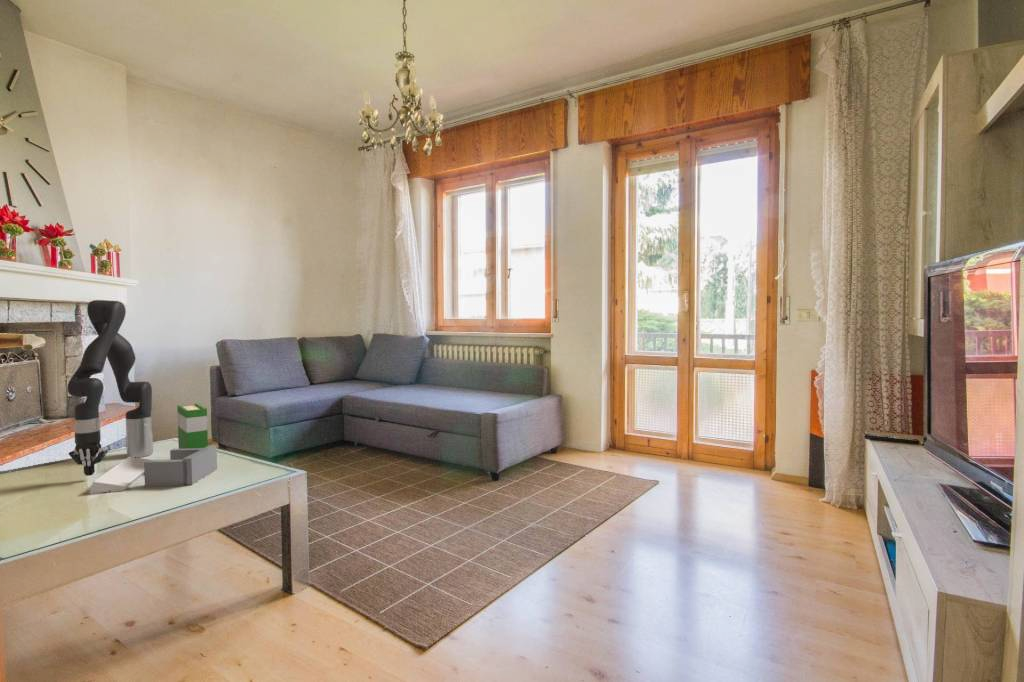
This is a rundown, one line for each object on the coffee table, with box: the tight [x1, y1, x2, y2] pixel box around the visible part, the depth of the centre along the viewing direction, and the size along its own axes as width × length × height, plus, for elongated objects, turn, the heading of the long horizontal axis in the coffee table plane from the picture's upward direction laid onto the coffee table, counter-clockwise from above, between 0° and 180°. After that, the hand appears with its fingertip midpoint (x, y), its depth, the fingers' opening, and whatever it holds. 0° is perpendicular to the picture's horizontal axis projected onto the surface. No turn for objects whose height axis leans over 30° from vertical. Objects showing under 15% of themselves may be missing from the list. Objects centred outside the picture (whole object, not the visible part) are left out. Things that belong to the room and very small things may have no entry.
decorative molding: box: [89, 457, 150, 495], centre depth 195 cm, size 34×5×10 cm
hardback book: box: [176, 403, 209, 449], centre depth 215 cm, size 18×7×24 cm, turn 43°
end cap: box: [143, 444, 218, 487], centre depth 195 cm, size 19×16×10 cm
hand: (89, 475), depth 192 cm, fingers closed
